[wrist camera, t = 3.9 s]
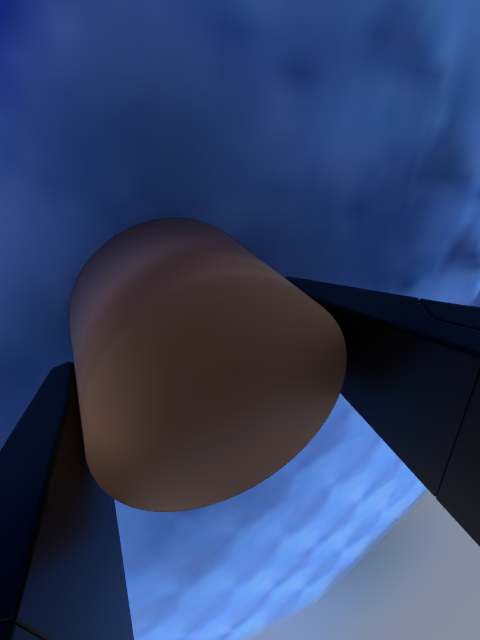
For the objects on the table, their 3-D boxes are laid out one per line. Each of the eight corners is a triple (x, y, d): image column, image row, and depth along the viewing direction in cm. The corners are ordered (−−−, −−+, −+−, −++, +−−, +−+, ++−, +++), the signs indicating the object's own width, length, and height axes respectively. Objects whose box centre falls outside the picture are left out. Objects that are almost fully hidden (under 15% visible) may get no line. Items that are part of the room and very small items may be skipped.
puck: (240, 191, 9) (348, 245, 6) (265, 344, 12) (345, 434, 9) (25, 260, 7) (15, 378, 4) (115, 413, 10) (146, 547, 7)
